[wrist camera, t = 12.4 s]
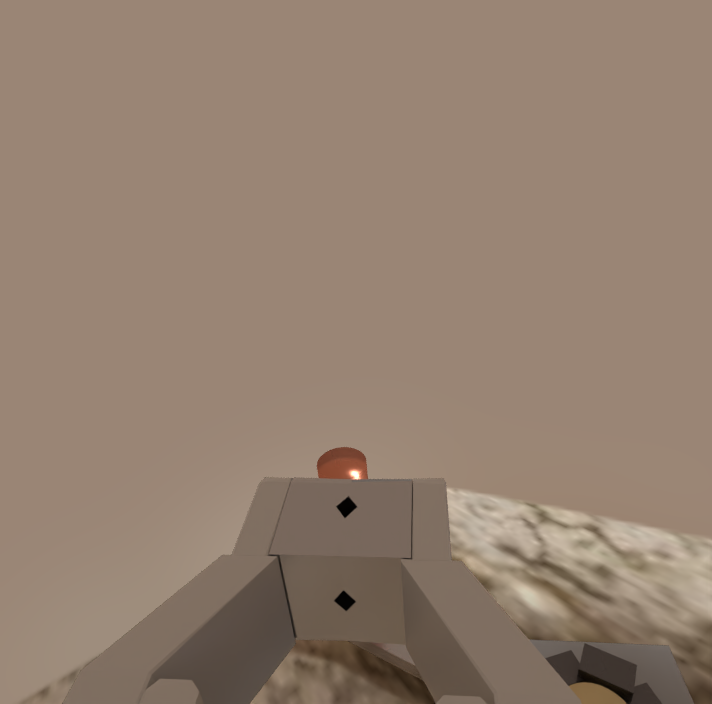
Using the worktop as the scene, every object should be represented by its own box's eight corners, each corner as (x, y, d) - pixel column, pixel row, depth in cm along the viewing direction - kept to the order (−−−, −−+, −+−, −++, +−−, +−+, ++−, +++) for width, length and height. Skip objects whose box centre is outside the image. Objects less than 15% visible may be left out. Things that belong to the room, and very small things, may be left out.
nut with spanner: (684, 721, 31) (758, 525, 23) (675, 903, 24) (773, 711, 17) (375, 582, 41) (359, 415, 34) (310, 684, 34) (273, 505, 27)
